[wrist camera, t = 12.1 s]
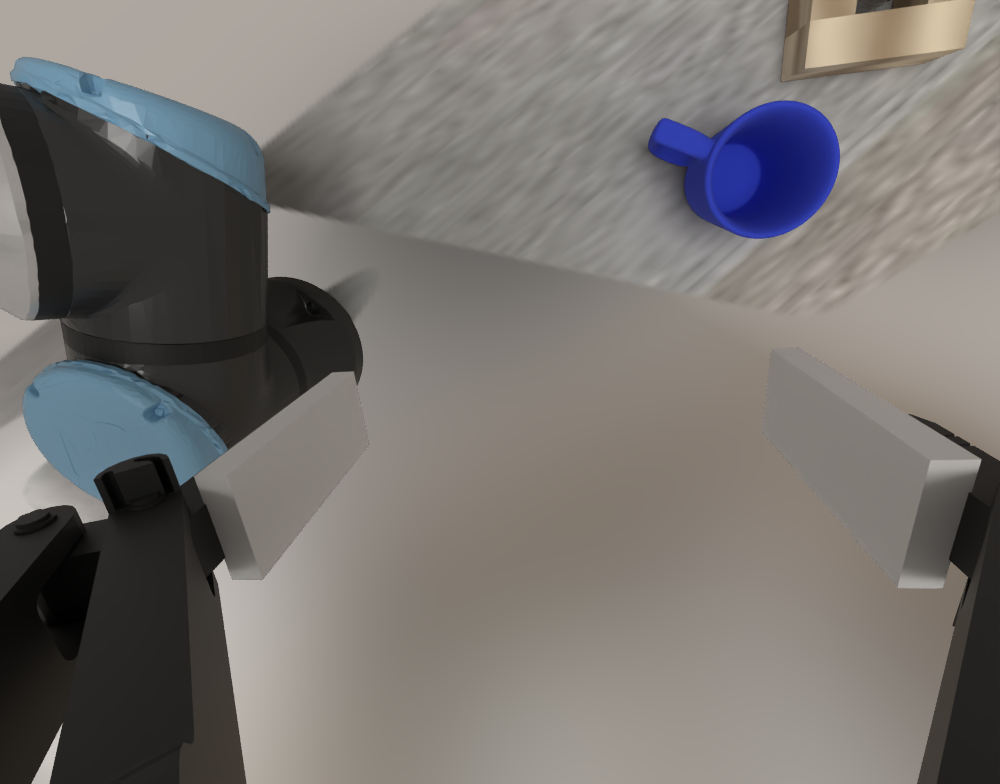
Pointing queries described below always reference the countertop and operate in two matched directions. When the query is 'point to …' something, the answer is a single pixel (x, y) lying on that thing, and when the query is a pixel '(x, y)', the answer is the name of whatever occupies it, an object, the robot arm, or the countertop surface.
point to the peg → (868, 5)
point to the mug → (755, 167)
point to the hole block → (870, 35)
